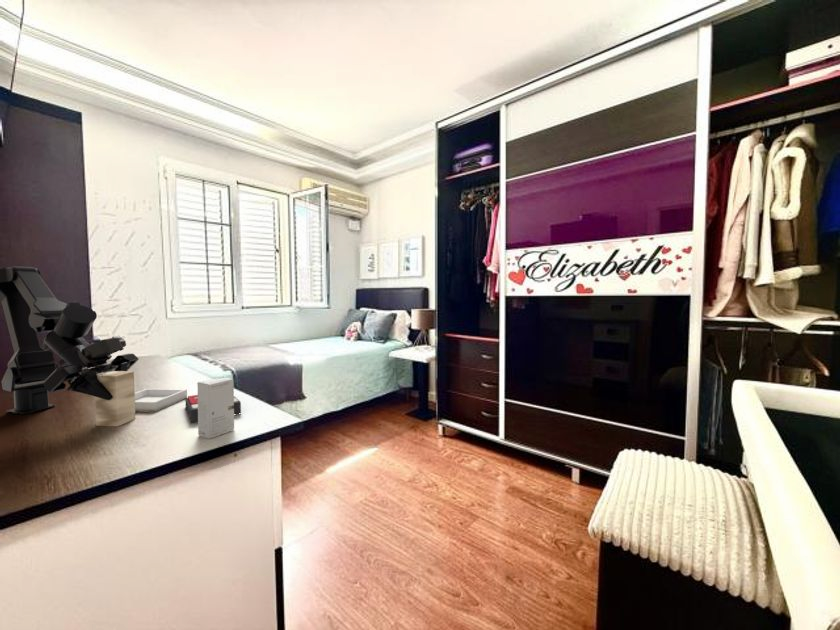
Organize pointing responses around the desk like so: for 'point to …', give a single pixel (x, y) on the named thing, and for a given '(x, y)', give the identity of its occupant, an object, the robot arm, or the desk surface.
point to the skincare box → (215, 407)
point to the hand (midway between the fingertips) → (121, 395)
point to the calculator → (193, 407)
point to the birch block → (116, 399)
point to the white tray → (157, 398)
